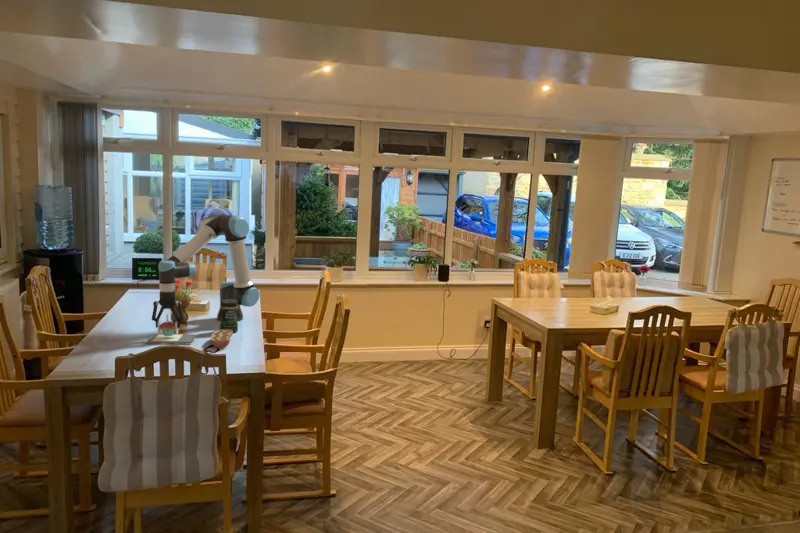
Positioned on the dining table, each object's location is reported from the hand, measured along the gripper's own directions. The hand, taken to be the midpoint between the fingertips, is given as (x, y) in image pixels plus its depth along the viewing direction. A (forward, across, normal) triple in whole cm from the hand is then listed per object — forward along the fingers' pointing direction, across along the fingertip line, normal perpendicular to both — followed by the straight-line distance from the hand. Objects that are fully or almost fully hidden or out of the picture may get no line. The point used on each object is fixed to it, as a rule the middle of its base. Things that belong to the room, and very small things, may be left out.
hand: (168, 333), depth 305 cm
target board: (+4, +2, 0) cm, 4 cm away
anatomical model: (+4, +28, -6) cm, 29 cm away
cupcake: (+1, 0, 0) cm, 1 cm away
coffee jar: (+4, +28, +18) cm, 33 cm away
